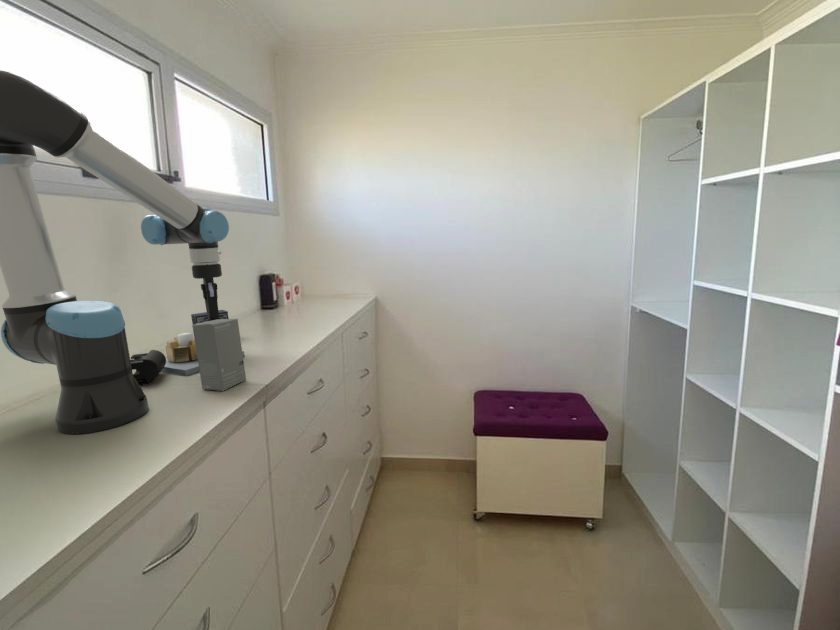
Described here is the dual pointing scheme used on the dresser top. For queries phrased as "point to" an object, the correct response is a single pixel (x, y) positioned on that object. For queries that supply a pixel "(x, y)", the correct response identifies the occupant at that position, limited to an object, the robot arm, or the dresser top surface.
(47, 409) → the dresser top surface
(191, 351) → the gold ring with handle
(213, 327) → the grey rectangular box
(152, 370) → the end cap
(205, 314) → the small box
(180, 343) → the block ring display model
